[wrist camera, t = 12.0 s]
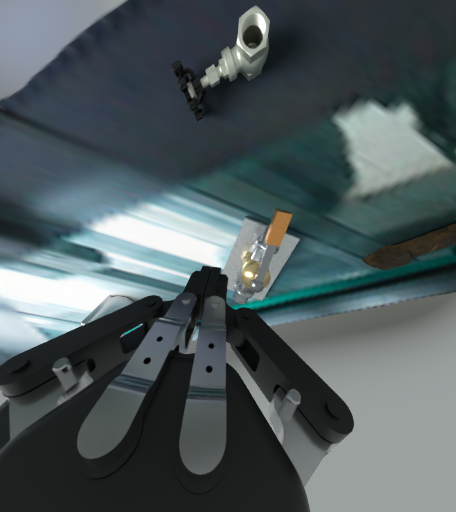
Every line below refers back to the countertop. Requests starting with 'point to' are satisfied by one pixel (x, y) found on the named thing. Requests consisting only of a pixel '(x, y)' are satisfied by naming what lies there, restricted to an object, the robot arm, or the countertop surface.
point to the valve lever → (271, 246)
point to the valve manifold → (254, 259)
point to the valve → (230, 60)
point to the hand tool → (412, 248)
